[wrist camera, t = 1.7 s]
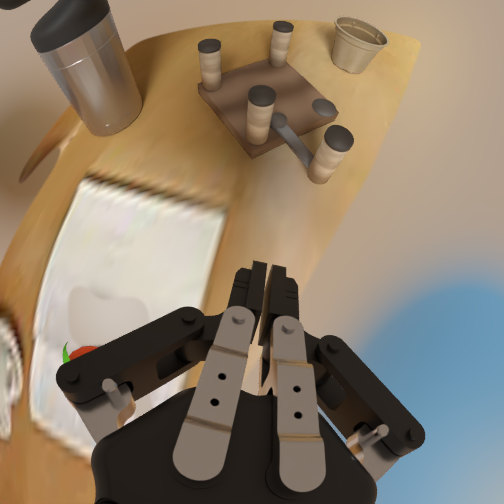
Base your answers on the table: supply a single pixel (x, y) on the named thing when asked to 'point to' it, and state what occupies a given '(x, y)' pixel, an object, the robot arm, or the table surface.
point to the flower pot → (356, 43)
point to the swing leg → (327, 153)
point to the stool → (262, 94)
